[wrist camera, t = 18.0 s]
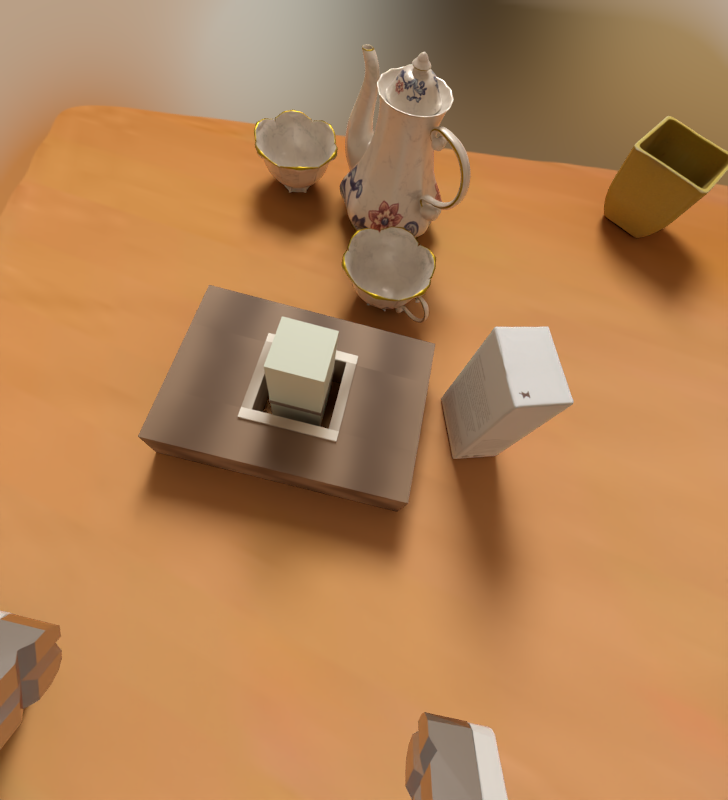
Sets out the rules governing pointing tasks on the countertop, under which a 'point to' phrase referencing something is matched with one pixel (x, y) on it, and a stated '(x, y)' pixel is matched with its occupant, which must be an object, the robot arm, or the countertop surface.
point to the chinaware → (378, 175)
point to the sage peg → (300, 370)
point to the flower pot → (663, 178)
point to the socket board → (285, 438)
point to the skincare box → (505, 392)
